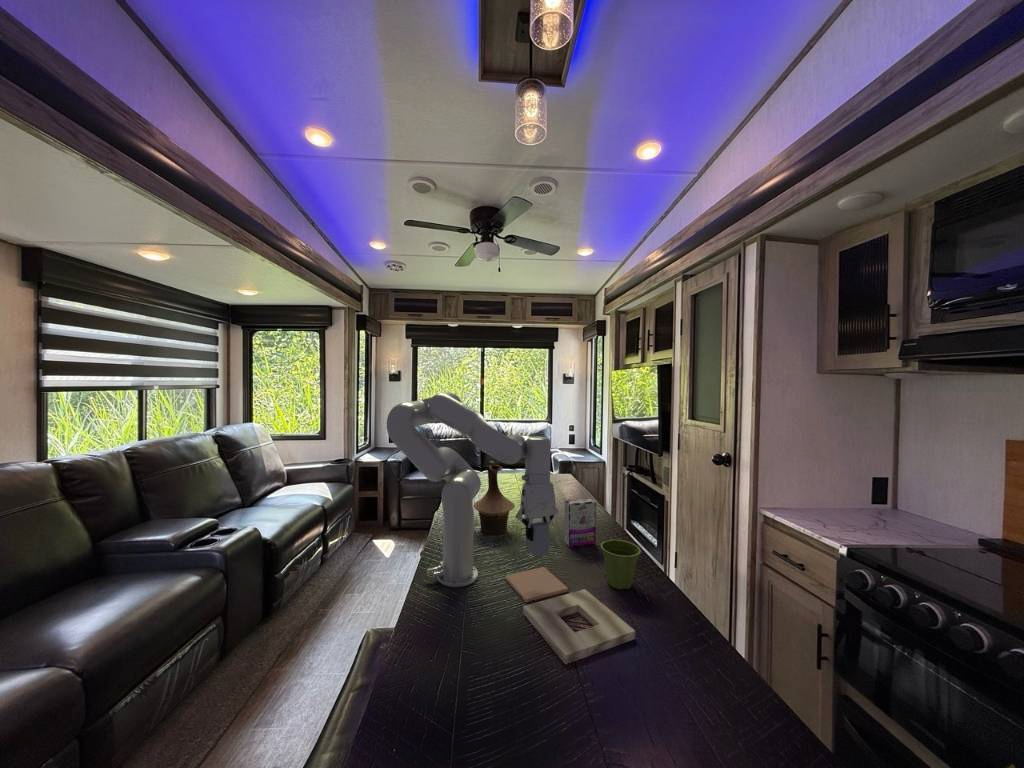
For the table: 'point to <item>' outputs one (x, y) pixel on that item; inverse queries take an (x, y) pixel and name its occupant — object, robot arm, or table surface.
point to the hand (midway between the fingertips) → (537, 537)
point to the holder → (583, 642)
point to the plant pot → (620, 562)
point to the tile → (535, 584)
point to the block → (539, 538)
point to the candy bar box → (580, 522)
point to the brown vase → (493, 505)
